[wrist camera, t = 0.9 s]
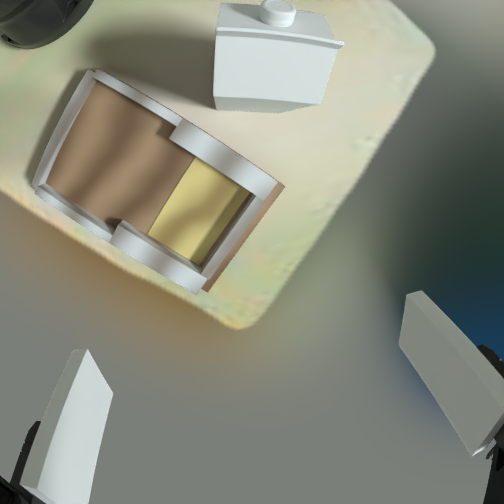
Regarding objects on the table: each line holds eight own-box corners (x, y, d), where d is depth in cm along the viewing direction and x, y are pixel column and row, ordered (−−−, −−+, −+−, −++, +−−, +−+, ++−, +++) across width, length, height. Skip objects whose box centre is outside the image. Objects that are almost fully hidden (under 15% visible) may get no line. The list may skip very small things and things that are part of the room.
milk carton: (279, 113, 33) (342, 101, 15) (215, 110, 32) (211, 89, 15) (283, 56, 30) (344, -6, 13) (219, 51, 29) (220, -23, 12)
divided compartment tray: (41, 184, 32) (29, 189, 30) (100, 69, 28) (90, 65, 25) (207, 287, 40) (207, 300, 37) (283, 184, 36) (288, 190, 33)
